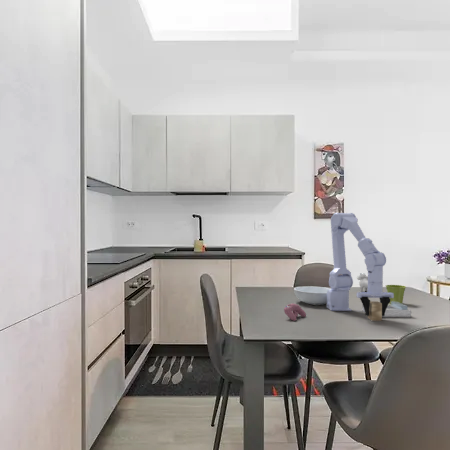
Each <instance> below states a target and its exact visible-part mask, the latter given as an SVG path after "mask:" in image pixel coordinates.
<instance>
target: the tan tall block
mask: <svg viewBox="0 0 450 450" xmlns="http://www.w3.org/2000/svg"><path fill="white" fill-rule="evenodd" d="M382 318H383V317H382V303H380V301H377V300H376V301H375V300H374V301H372V300H370V305H369V316H367V319H369V320H370V321H372V322H373V321H374V322H375V321H378V322H379V321H380V322H381V321H382V320H383V319H382Z"/></svg>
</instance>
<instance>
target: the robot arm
mask: <svg viewBox="0 0 450 450" xmlns="http://www.w3.org/2000/svg"><path fill="white" fill-rule="evenodd" d="M330 217H331V218H330V229H331V231H330V232H331V247H332V256H333V260H332V261H333V269H332V270H331V271H330V272H329V279H328V286H329V288H331V289H332V290H328V291H327V303H326V309H328V310H330V311H334V312H335V311H337V312H339V311H341V312H342V311H344V312H345V311H347V312H352V311H353V310H352V308H350V303H349V302H350V291H351V288H352V287H353V285H354V280H353V277H352V272H351V271H350V270H349V269H348V268H347V261H346V260H347V259H346V247H345V236H344V235H345V233H346V232H348V231H350V233H351V234H352V236H353V237H354V239H356V241H357V242H358V243H357V247H358V248H359V250H360V252H361V254H362V256H364V264H365V265H366V270H367V277H368V288H367V292H365V291H362V292H360V291H357V292H356V298H358V299H359V300H360V301H361V303H362V307H363V306H364V310H365V312H364V313H365V316H367V317H368V316H369V305H370V301H371V300H370V299H371V298H373V299H375V298H377V299H379V302H380V303H382V316H384V315H385V311H386V308H387V306H388V304H390V299H389V298H394V293H388V292H386V291H385V292H383V289H384V287H383V286H384V285H383V284H384V283H383V280H384V277H383V276H384V275H383V274H384V271H383V270H384V266H385V265H386V264H387V257H386V255H385V253H384V252H380V251H379V250H378V249H377V247H376V246H375V244H374V243H373V240H372V239H370V238H367V237H366V235H365V234H364V232H363V230H362V228H361V227H360V225H359V223H358V217H356V215H355V213H353V212H349V213H348V212H334V213H333V215H332V216H330ZM369 298H370V299H369Z"/></svg>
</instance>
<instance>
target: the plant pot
mask: <svg viewBox="0 0 450 450" xmlns="http://www.w3.org/2000/svg"><path fill="white" fill-rule="evenodd" d="M385 288H386V291H387V293H394V298H389V299H390V303H389V304H391V301H397V302H399V303H402V304H403V302H404V295H405V291H406V288H407V286H406V285H401V284H400V285H399V284H386V285H385Z"/></svg>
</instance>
